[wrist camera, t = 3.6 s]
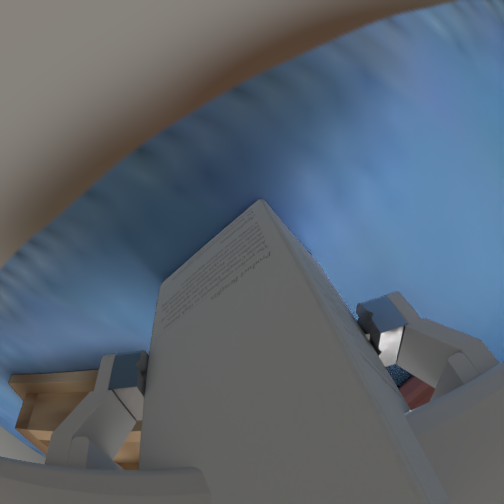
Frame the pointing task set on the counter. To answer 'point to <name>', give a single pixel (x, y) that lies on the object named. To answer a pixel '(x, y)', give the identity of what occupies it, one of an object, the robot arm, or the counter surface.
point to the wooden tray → (62, 409)
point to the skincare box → (274, 381)
